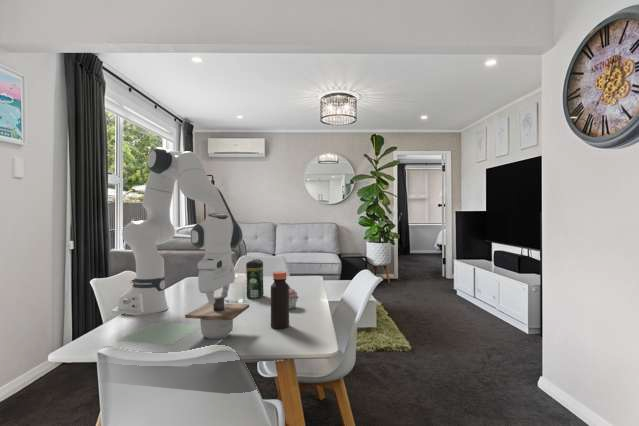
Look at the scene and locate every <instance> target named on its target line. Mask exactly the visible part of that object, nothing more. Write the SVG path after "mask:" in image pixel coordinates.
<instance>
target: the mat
mask: <svg viewBox="0 0 639 426" xmlns="http://www.w3.org/2000/svg"><path fill="white" fill-rule="evenodd" d="M198 329H201V324H194V323H193V324H190V323H174V322H156V321H154V322H152V323H150V324H148V325H146V326H144V327H142V328H140V329H138V330H136V331H133V332H131V333H129V334H128V335H125V336H123V337H122V338H119V339H117V340H116V342H129V343H131V342H132V343H144V344H145V343H146V344H156V345H159V344H160V345H175V343H177V342H178V341H180V340H182V339H183V338H185V337H186V336H189V335H190V334H192V333H193V332H195V331H197V330H198Z"/></svg>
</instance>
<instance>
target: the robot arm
mask: <svg viewBox="0 0 639 426" xmlns="http://www.w3.org/2000/svg"><path fill="white" fill-rule="evenodd" d="M146 165H147V168H148V170H149V171H150V173H149V175H148V177H147V181H146V184H145V189H144V194H143V198H142V202H141V203H142V207H143V208H144V209H145V211H146V219H144V220H143V219H142V220H134V221H132V222H129V223H127V224H126V225H125V226H124V227H123V230H122V232H121V233H122V239H123V241H124V243H125V244H126V245H128V247H130V248H131V250H132V253H133V256H134V260H135V276H136V277H135V278H133V279H131V280H130V284H132V285H131V287H130V288H129V289H128V290H126V291H125V292H124V293H123V294H121V295H120V297H119V298H118V302H117V306H115V307H114V308H112V310H111V313H113V314H121V315H126V316H127V315H128V316H134V317H137V316H139V315H141V316H142V315H144V314H145V315H146V314H154V313H161V312H164V311H167V310H168V309H169V305H168V302H167V296H166V290H165V289H166V276H165V259H164V257H163V256H162V255H161V254H160V253H159V250H158V248H157V246H158V245H162V244H165V243H167V242H169V241H172V239H173V238H174V236H175V232H176V231H175V227H174V225H173V224H172V221H171V215H170V214H171V213H170V212H171V203H172V199H173V194H174V191H175V183H176V181H177V184H178V187H179V190H180V192H181V193H182V194H183V195H184V196H185V197H186V198H189V200H192V201H196V202H200V203H203V204H205V205H207V206H209V207H211V209H212V210H213V211H214V213H213V212H212V213H208V214H207V215H206V217H205V219H204V220H203V221H201V222H199V223H196V224H195V225H193V227H192V229H191V230H190V242H191V244H192V245H193V246H194V248H196V249H199V250H205V251H204V256H203V257H202V258H201V260H199V261H198V262H197V269H198V270H199V271H198V278H197V279H198V280H197V281H198V283H197V284H198V290H199V293H200V294H205V295H206V298H207V300H208V302H207V303H208V304H209V305H213V304H215V298H214V297H215V296H214V295H215V291H218V290H220V289H222V292H221V293H220V297H224V299H225V298H227V297H228V295H229V293H228V292H229V290H230V284H233V283H234V282H235V280H236V274H235V273H236V272H235V271H236V270H235V264H234V263H233V261H232V250H233V249H235V248H236V247H238V246H239V244H240V243H241V242H242V239H243V231H242V228H241V226H240V224H239V223H238V222H237V221H236V219H235V217H234V215H233V213H232V212H231V209H230V207H229V205H228V203H227V201H226V200H225V197H224V195H223V193H222V191H221V190H220V189H219V188H218V187H217V186H216V185H214V184H213V182H212V181H211V180H210V179H209V177H208V175H207V172H206V169H205V166H204V163H203V161H202V160H201V157H200V156H199V155H198V154H197V153H196V152H193V151H181V150H174V149H169V148H165V147H154V148H152V149H151V150H150V151H149V152H148V154H147V157H146ZM124 313H125V314H124Z"/></svg>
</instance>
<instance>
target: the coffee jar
mask: <svg viewBox="0 0 639 426" xmlns="http://www.w3.org/2000/svg"><path fill="white" fill-rule="evenodd" d="M245 264H246V265H245V272H246V298H247V299H252V300H253V299H260V298H262V297H263V296H264V261H263V260H262V259H251V260H249V261H248V262H246V263H245Z"/></svg>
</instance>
